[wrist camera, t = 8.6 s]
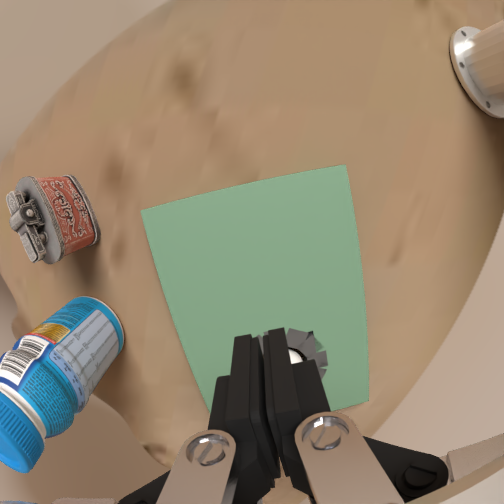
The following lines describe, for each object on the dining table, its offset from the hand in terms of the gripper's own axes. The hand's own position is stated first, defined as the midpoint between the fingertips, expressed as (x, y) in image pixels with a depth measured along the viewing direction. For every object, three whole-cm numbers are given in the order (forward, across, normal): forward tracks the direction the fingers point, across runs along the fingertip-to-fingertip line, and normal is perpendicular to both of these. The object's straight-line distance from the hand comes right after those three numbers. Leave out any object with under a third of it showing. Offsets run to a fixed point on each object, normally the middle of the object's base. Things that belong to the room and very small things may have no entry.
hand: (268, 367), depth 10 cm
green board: (+19, 0, +7) cm, 20 cm away
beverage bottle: (+19, +20, +5) cm, 28 cm away
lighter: (+19, +17, -8) cm, 27 cm away
